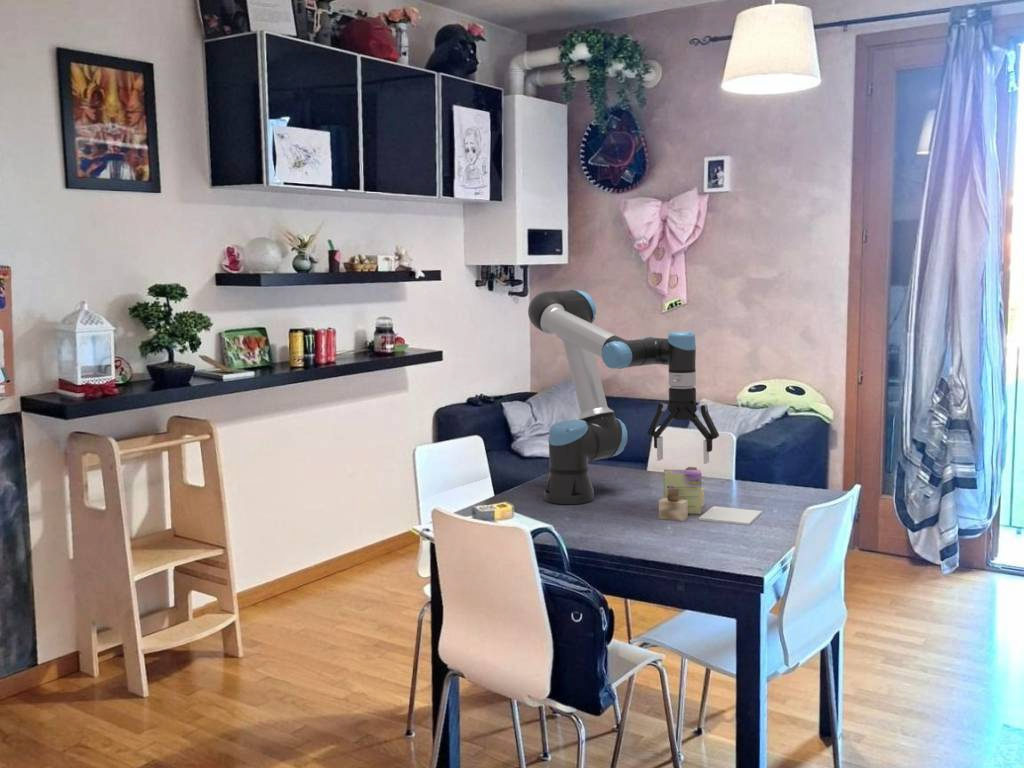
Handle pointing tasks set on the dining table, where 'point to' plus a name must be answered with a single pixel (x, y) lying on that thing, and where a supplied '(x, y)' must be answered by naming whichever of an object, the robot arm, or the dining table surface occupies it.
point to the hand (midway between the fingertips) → (682, 461)
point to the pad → (730, 515)
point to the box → (685, 487)
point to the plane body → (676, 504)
